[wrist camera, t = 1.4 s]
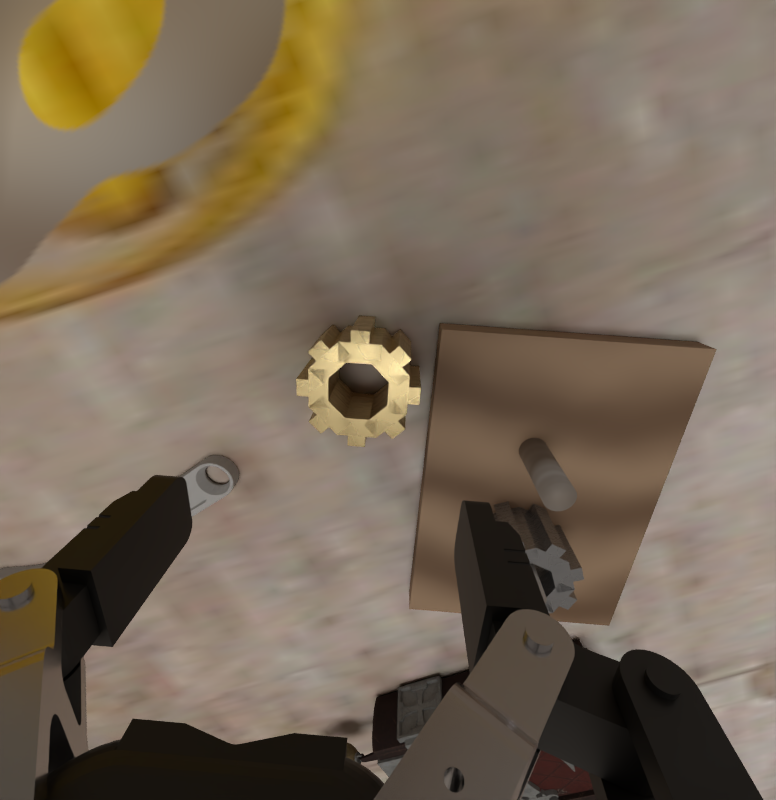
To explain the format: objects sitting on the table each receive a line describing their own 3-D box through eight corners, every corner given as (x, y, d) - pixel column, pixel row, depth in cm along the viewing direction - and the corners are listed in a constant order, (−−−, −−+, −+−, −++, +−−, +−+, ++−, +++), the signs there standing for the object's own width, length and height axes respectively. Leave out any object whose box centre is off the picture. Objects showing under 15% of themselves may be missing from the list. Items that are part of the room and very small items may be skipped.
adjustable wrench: (224, 442, 27) (212, 456, 25) (281, 512, 29) (274, 530, 27) (-21, 578, 32) (-44, 597, 31) (42, 629, 34) (24, 649, 33)
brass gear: (311, 312, 23) (294, 326, 19) (423, 320, 22) (426, 335, 19) (312, 414, 25) (297, 441, 22) (413, 421, 25) (414, 450, 22)
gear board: (439, 323, 22) (450, 354, 17) (697, 341, 22) (793, 379, 17) (409, 591, 30) (409, 672, 25) (599, 607, 30) (642, 692, 24)
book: (628, 734, 36) (660, 809, 32) (379, 791, 42) (375, 862, 37) (576, 627, 31) (606, 696, 27) (303, 707, 37) (288, 777, 32)
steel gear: (451, 515, 26) (458, 556, 22) (551, 490, 25) (574, 530, 21) (476, 585, 28) (485, 633, 25) (569, 566, 27) (591, 612, 24)
